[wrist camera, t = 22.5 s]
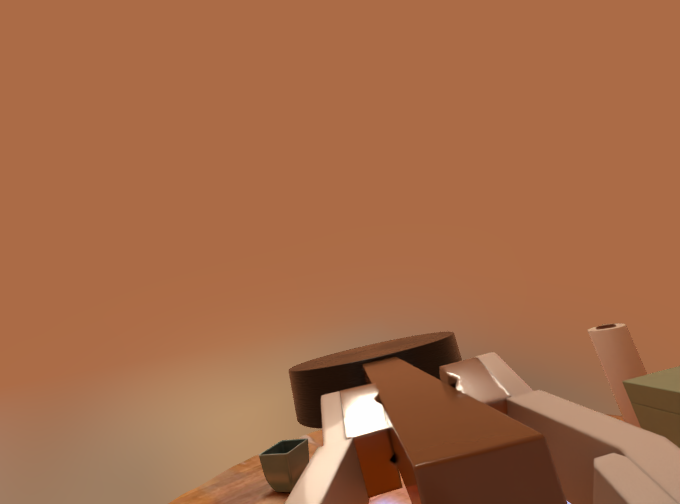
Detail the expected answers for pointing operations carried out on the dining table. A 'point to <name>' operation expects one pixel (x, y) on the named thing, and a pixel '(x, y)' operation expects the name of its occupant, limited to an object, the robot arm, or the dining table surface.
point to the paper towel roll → (618, 363)
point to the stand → (657, 402)
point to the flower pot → (285, 463)
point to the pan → (436, 424)
